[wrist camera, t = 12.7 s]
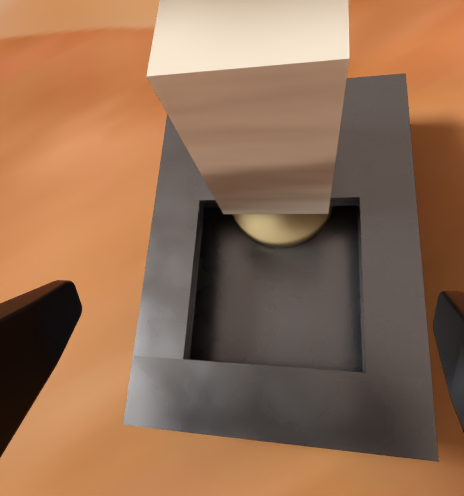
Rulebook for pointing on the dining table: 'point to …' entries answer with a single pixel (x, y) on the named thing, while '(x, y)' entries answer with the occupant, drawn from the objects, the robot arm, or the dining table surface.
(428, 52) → the dining table surface
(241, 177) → the keyhole post
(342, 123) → the keyhole plate
